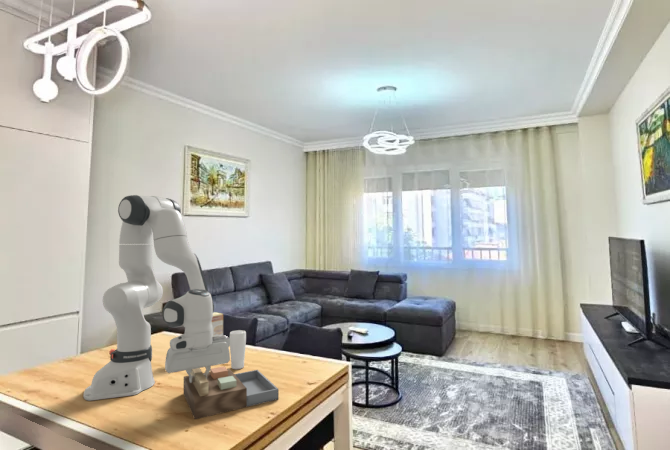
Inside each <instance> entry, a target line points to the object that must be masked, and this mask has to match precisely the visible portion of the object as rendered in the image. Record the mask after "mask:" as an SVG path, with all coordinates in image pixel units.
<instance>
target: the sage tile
mask: <svg viewBox="0 0 670 450" xmlns="http://www.w3.org/2000/svg"><path fill="white" fill-rule="evenodd" d="M217 385H218V386H219V388H220V389H221V390H223V389H227V388H232V387H236V379H235V378H234V377H233V376H228V377H223V378H218V379H217Z"/></svg>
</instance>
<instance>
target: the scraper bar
mask: <svg viewBox="0 0 670 450" xmlns="http://www.w3.org/2000/svg"><path fill="white" fill-rule="evenodd" d="M201 369H202V368H196V369H192V372H191V373H190V374H191V376H195V382H193V384H194V386H195V388H196V389H197V391H198V393H199V395H200V396H205V395H208V380H207V379H206V377H205V376H204V374H203V373H204V372H203V371H202V370H201Z"/></svg>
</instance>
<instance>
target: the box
mask: <svg viewBox="0 0 670 450" xmlns="http://www.w3.org/2000/svg"><path fill="white" fill-rule="evenodd" d="M234 374H235V375H236V377H237V378H238V379H239V380H240V381H241V382H242V383H243V385H244V386H245V387H246V388H247V407H246V408H249V407H252V406H257V405H261V404H265V403H269V402H274V401H278V400H279V398H280V397H279V391H280V389H279V387H277V386H276V385H275V384H274V383H273V382H272V381H271V380H270V379H269V378H267V377H266V376H265V375H264V374H263V373H262V372H261V371H260V370H259V369H255V370H250V371H245V372H239V373H234Z"/></svg>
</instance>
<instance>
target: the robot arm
mask: <svg viewBox="0 0 670 450" xmlns="http://www.w3.org/2000/svg"><path fill="white" fill-rule="evenodd" d="M118 204H119V205H118V210H117V212H118V216H119V218H120V219H121V221H122V223H121V226H120V227H121V228H120V231H119V232H120V233H119V239H118V240H119V241H118V242H119V244H118V265H119V267H120V269H122V270H123V272H124V273H125V275H126V278H127V279H126V280H127V282H119V283H118V284H115V285H113V286H112V287H109V288H108V289H106V291H105V292H104V294H103V296H102V305H103V308H104V309H105V310H106V312H107V313H110V314H111V316H112V318H113V321H114V323H115V328H116V345H117V346H116V349H114V348H111V349H110V350H109V352H108V353H109V355H110V357H109V358H110V361H109V362H108V363H106V364H105V365H104V366H103V367H101V368H100V369H99V370H98V371H96V372H95V374H94V375H93V377H92V380H91V385H89V386H88V387H86V388H85V389H84V392H83V399H84V400H86V401H89V402H90V401H98V400H106V399H113V398H119V397H122V398H123V397H127V396H128V397H129V396H135V395H138V394H140V393H141V392H143V391H145V390H147V389H150V388H151V387H152V386H154V385H155V383H156V381H155V378H154V374H153V368H152V360H153V347H152V345H151V340H152V339H151V337H152V334H151V333H152V330H151V328H152V326H151V324H150V322H148V321H147V320H146V319H145V316H144V309H147V308H151V307H152V306H153V305H156V303H158V302H159V301H160V300H161V299H162V297H163V293H164V288H163V286H162V284H161V283H160V282H159V281H158V279H157V277H156V273H155V271H154V267H153V247H154V252H155V255H156V257H157V259H159V260H160V261H161V262H163V263H164V264H167V265H169V266H172V267H175V268H177V269H179V270H180V271H182V272H183V273H184V274H185V276H186V278H187V283H188V286H189V290H188V291H187V292H186V293H185V294H183V295H182V296H180V297H177V298H174V299H171V300H169V301H167V302H166V303H165V305H164V306H163V308H162V309H163V310H162V319H163V321H164V323H165V324H166V325H167V326H168V327H170V328H181V327H184V333H183V334H180V335H178V336H177V337H173V338H172V339H170V341H169V346H170V347H169V348H168V349H167V352H166V355H165V360H164V361H165V362H164V369H165V371H166V373H168V374H172V373H177V372H182V371H185V372H186V374H187V376H189V377H190V383H193V382H195V376H191V374H190V373H191V372H192V369H196V368H200V369H202V368H204V369H205V371H204V372H203V373H204V376H205V377H206V379H207V375H208V373H209V372H210V369H212V368H211V367H213V366H219V365H224V364H228V363H229V362H230V361H231V353H230V336H229V337H228V336H226V335H223V336H216V337H213V327H212V317H213V313H214V312H215V303H214V301H213V298H212V294H211V292H209V290H208V289H209V288H208V286H207V283H206V279H205V276H204V272H203V268H202V266H201V262H200V259H199V257H198V256H197V254H196V253H195V252H194V251H193V249H192V248H191V246H190V244H189V239H188V235H187V228H186V226H185V225H186V224H185V222H184V219H183V215H182V211H181V210H182V209H181V206H180V204H179V202H177V201H176V200H174V199H171V198H169V197H168V198H164V197H160V196H155V195H137V194H133V195H130V194H129V195H126V196H124V197H123V198H122V199H121V200H120V202H119V203H118Z"/></svg>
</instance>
